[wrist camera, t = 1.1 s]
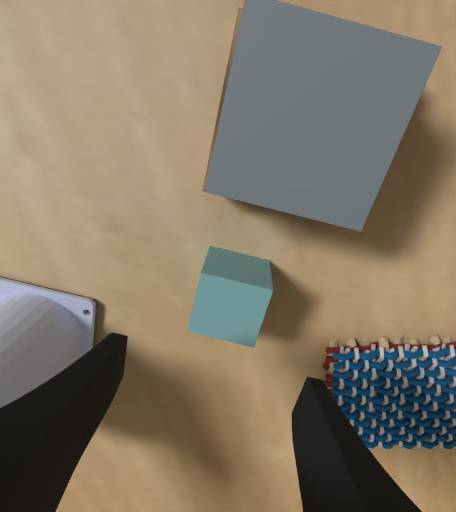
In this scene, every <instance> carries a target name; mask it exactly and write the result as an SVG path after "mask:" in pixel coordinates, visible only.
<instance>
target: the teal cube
mask: <svg viewBox="0 0 456 512" xmlns="http://www.w3.org/2000/svg"><path fill="white" fill-rule="evenodd" d="M272 293H273V284H272V276H271V267H270V260H266V259H262V258H258V257H254V256H250V255H246V254H242V253H238V252H233V251H229V250H225V249H221V248H217V247H213V246H210V248H209V250H208V253H207V256H206V259H205V262H204V265H203V268H202V271H201V275H200V279H199V284H198V288H197V292H196V297H195V301H194V306H193V310H192V315H191V319H190V324H189V328H188V332H191V333H195V334H199V335H203V336H208V337H212V338H216V339H220V340H224V341H229V342H233V343H237V344H241V345H245V346H249V347H254V345H255V342H256V339H257V337H258V334H259V331H260V328H261V325H262V322H263V319H264V316H265V313H266V310H267V307H268V304H269V301H270V298H271V296H272Z"/></svg>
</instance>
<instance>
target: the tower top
mask: <svg viewBox="0 0 456 512" xmlns="http://www.w3.org/2000/svg"><path fill="white" fill-rule="evenodd" d="M441 48H442V46H438V45H435V44H431V43H428V42H424V41H420V40H417V39H413V38H410V37H406V36H402V35H399V34H395V33H392V32H388V31H385V30H381V29H377V28H374V27H370V26H367V25H363V24H359V23H356V22H352V21H349V20H345V19H341V18H338V17H334V16H331V15H327V14H324V13H320V12H316V11H313V10H309V9H306V8H302V7H298V6H295V5H291V4H288V3H284V2H280V1H277V0H245V3H244V7H243V12H242V17H241V22H240V26H239V31H238V36H237V41H236V45H235V50H234V55H233V60H232V64H231V69H230V74H229V78H228V83H227V88H226V93H225V97H224V102H223V107H222V112H221V116H220V121H219V126H218V131H217V135H216V140H215V145H214V150H213V154H212V159H211V164H210V168H209V173H208V178H207V183H206V187H205V192H207V193H211V194H215V195H218V196H222V197H226V198H230V199H234V200H238V201H242V202H246V203H250V204H254V205H258V206H262V207H266V208H270V209H274V210H277V211H281V212H285V213H289V214H293V215H297V216H301V217H305V218H309V219H313V220H317V221H321V222H325V223H329V224H333V225H336V226H340V227H344V228H348V229H352V230H356V231H360V232H361V230H362V228H363V226H364V223H365V221H366V219H367V217H368V214H369V212H370V210H371V208H372V205H373V203H374V201H375V198H376V196H377V194H378V192H379V189H380V187H381V185H382V182H383V180H384V178H385V176H386V173H387V171H388V169H389V166H390V164H391V162H392V160H393V157H394V155H395V153H396V151H397V148H398V146H399V144H400V141H401V139H402V137H403V135H404V132H405V130H406V128H407V125H408V123H409V121H410V119H411V116H412V114H413V112H414V110H415V107H416V105H417V103H418V100H419V98H420V96H421V94H422V91H423V89H424V87H425V84H426V82H427V80H428V78H429V75H430V73H431V71H432V68H433V66H434V64H435V62H436V59H437V57H438V55H439V53H440V50H441Z"/></svg>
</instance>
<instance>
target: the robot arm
mask: <svg viewBox="0 0 456 512" xmlns="http://www.w3.org/2000/svg"><path fill="white" fill-rule="evenodd" d="M86 310H89V312H90V313H89V312H87V311H86ZM95 313H96V303H95V302H94V301H93V300H92V299H90V298H86V297H81V296H77V295H73V294H69V293H64V292H60V291H56V290H52V289H47V288H43V287H39V286H35V285H31V284H26V283H22V282H18V281H14V280H9V279H5V278H1V277H0V512H56V509H57V507H58V505H59V502H60V500H61V498H62V496H63V494H64V491H65V489H66V487H67V485H68V483H69V480H70V478H71V476H72V474H73V472H74V470H75V468H76V466H77V464H78V462H79V460H80V458H81V456H82V454H83V453H84V451H85V449H86V447H87V445H88V444H89V442H90V440H91V438H92V437H93V435H94V433H95V431H96V429H97V428H98V426H99V424H100V422H101V421H102V419H103V417H104V415H105V413H106V412H107V410H108V408H109V406H110V404H111V402H112V401H113V398H114V396H115V394H116V392H117V389H118V387H119V384H120V382H121V380H122V377H123V373H124V364H125V356H126V347H127V338H128V336H125V335H121V334H116V333H111V334H109V335H108V336H107V337H105V338H104V339H103V340H102V341H101V342H99V343H98V344H97V345H96V346H94V347H93V340H94V327H95ZM292 436H293V446H294V453H295V460H296V466H297V473H298V479H299V486H300V492H301V499H302V506H303V512H422V511H421V510H420V509H419V508H418V507H417V506H416V505H415V504H414V503H413V502H412V501H411V500H410V499H409V497H408V496H407V495H406V494H405V493H404V492H403V491H402V490H401V488H400V487H399V486H398V485H397V484H396V483H395V481H394V480H393V479H392V478H391V477H390V475H389V474H388V473H387V472H386V471H385V470H384V468H383V467H382V466H381V465H380V463H379V462H378V461H377V459H376V458H375V457H374V456H373V454H372V453H371V451H370V450H369V449H368V447H367V446H366V445H365V443H364V442H363V441H362V439H361V438H360V436H359V435H358V434H357V432H356V431H355V429H354V428H353V426H352V425H351V423H350V422H349V420H348V419H347V417H346V416H345V414H344V413H343V411H342V410H341V408H340V407H339V405H338V404H337V402H336V400H335V399H334V397H333V396H332V394H331V393H330V391H329V389H328V388H327V386H326V385H325V383H324V382H323V380H320V379H316V378H311V377H307V379H306V381H305V383H304V386H303V388H302V390H301V393H300V395H299V397H298V400H297V402H296V404H295V407H294V409H293V411H292Z"/></svg>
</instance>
